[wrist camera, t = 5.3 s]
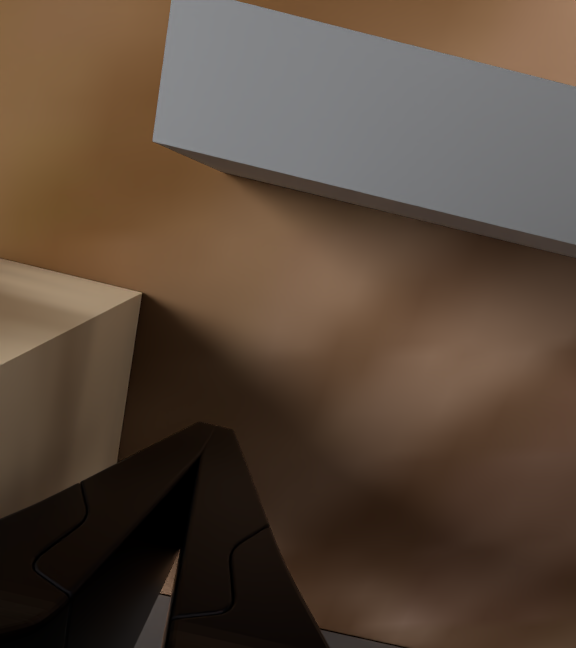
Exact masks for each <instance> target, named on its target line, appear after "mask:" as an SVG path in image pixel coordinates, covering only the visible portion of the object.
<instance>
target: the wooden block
mask: <svg viewBox="0 0 576 648" xmlns="http://www.w3.org/2000/svg"><path fill="white" fill-rule="evenodd" d="M141 297H142V293H141V292H137V291H133V290H129V289H125V288H121V287H116V286H112V285H108V284H104V283H100V282H96V281H92V280H88V279H84V278H79V277H75V276H71V275H67V274H63V273H59V272H55V271H51V270H46V269H42V268H38V267H34V266H30V265H26V264H22V263H18V262H14V261H9V260H5V259H1V258H0V519H1V518H3V517H5V516H8V515H10V514H12V513H15V512H17V511H19V510H22V509H24V508H26V507H29V506H31V505H33V504H35V503H37V502H40V501H42V500H44V499H46V498H48V497H50V496H52V495H54V494H56V493H58V492H61V491H62V490H64V489H66V488H68V487H70V486H72V485H74V484H76V483H80V482H81V481H83V480H84V479H86V478H88V477H90V476H92V475H94V474H96V473H98V472H100V471H102V470H104V469H106V468H108V467H110V466H112V465H114V464H116V463H117V458H118V451H119V445H120V438H121V431H122V425H123V418H124V411H125V404H126V398H127V391H128V384H129V378H130V371H131V364H132V357H133V351H134V344H135V337H136V331H137V324H138V317H139V310H140V304H141Z"/></svg>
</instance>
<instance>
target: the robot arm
mask: <svg viewBox="0 0 576 648" xmlns="http://www.w3.org/2000/svg"><path fill="white" fill-rule="evenodd" d="M269 527H270V526H269V523H268V520H267V518H266V515H265V512H264V510H263V507H262V504H261V502H260V499H259V496H258V494H257V491H256V488H255V486H254V483H253V481H252V478H251V475H250V473H249V470H248V467H247V465H246V462H245V459H244V457H243V454H242V451H241V449H240V446H239V444H238V441H237V438H236V436H235V433H234V431H233V430H232V429H230V428H226V427H221V426H215V425H213V424H209V423H204V422H197V423H195V424H193V425H191V426H189V427H187V428H185V429H183V430H181V431H179V432H177V433H175V434H173V435H171V436H169V437H167V438H165V439H163V440H161V441H159V442H157V443H155V444H153V445H151V446H150V447H148V448H146V449H144V450H142V451H140V452H138V453H136V454H134V455H132V456H130V457H128V458H126V459H124V460H122V461H120V462H118V463H116V464H114V465H112V466H110V467H108V468H106V469H104V470H102V471H100V472H98V473H96V474H94V475H92V476H90V477H88V478H86V479H84V480H83V481H81V482H80V483H76V484H74V485H72V486H70V487H68V488H66V489H64V490H62V491H61V492H58V493H56V494H54V495H52V496H50V497H48V498H46V499H44V500H42V501H40V502H37V503H35V504H33V505H31V506H29V507H26V508H24V509H22V510H19V511H17V512H15V513H12V514H10V515H8V516H5V517H3V518H1V519H0V648H134V647H135V645H136V642H137V640H138V638H139V636H140V634H141V632H142V630H143V628H144V625H145V623H146V621H147V619H148V617H149V615H150V613H151V610H152V608H153V606H154V604H155V602H156V600H157V598H158V595H159V593H160V591H161V589H162V587H163V585H164V583H165V580H166V578H167V576H168V574H169V572H170V570H171V568H172V565H173V563H174V561H175V559H176V557H177V555H178V553H179V551H180V553H179V558H178V563H177V568H176V574H175V579H174V584H173V589H172V594H171V599H170V604H169V609H168V614H167V619H166V624H165V629H164V634H163V639H162V645H161V648H330V646H329V645H328V643H327V641H326V639H325V637H324V636H323V634H322V632H321V630H320V628H319V626H318V625H317V623H316V621H315V619H314V617H313V616H312V614H311V612H310V610H309V608H308V606H307V605H306V603H305V601H304V599H303V597H302V596H301V594H300V592H299V590H298V588H297V586H296V584H295V582H294V580H293V578H292V577H291V575H290V573H289V571H288V569H287V567H286V565H285V562H284V560H283V558H282V555H281V553H280V551H279V548H278V546H277V544H276V541H275V538H274V536H273V533H272V530H271V528H269Z"/></svg>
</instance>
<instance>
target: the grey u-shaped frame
mask: <svg viewBox="0 0 576 648" xmlns="http://www.w3.org/2000/svg"><path fill="white" fill-rule="evenodd" d="M153 142H155V143H157V144H160V145H162V146H164V147H166V148H169V149H171V150H173V151H175V152H178V153H180V154H182V155H185V156H187V157H189V158H191V159H194V160H196V161H198V162H200V163H203V164H205V165H207V166H210V167H212V168H214V169H216V170H219V171H221V172H224V173H228V174H233V175H237V176H241V177H245V178H249V179H253V180H257V181H261V182H265V183H270V184H274V185H278V186H282V187H286V188H290V189H294V190H298V191H302V192H307V193H311V194H315V195H319V196H323V197H327V198H331V199H335V200H339V201H344V202H348V203H352V204H356V205H360V206H364V207H368V208H372V209H376V210H381V211H385V212H389V213H393V214H397V215H401V216H405V217H409V218H413V219H418V220H422V221H426V222H430V223H434V224H438V225H442V226H446V227H450V228H455V229H459V230H463V231H467V232H471V233H475V234H479V235H483V236H487V237H491V238H496V239H500V240H504V241H508V242H512V243H516V244H520V245H524V246H528V247H533V248H537V249H541V250H545V251H549V252H553V253H557V254H561V255H565V256H570V257H574V258H576V87H575V86H571V85H567V84H563V83H559V82H555V81H551V80H547V79H543V78H539V77H535V76H531V75H527V74H523V73H519V72H515V71H511V70H508V69H504V68H500V67H496V66H492V65H488V64H484V63H480V62H476V61H472V60H468V59H464V58H460V57H456V56H452V55H448V54H444V53H440V52H436V51H432V50H428V49H425V48H421V47H417V46H413V45H409V44H405V43H401V42H397V41H393V40H389V39H385V38H381V37H377V36H373V35H369V34H365V33H361V32H357V31H353V30H349V29H345V28H342V27H338V26H334V25H330V24H326V23H322V22H318V21H314V20H310V19H306V18H302V17H298V16H294V15H290V14H286V13H282V12H278V11H274V10H270V9H266V8H262V7H259V6H255V5H251V4H247V3H243V2H239V1H235V0H171V8H170V15H169V23H168V30H167V37H166V45H165V52H164V60H163V67H162V74H161V82H160V89H159V97H158V104H157V111H156V119H155V126H154V134H153ZM170 599H171V597H169V596H164V595H158V598H157V600H156V602H155V604H154V606H153V608H152V610H151V613H150V615H149V617H148V619H147V621H146V623H145V625H144V628H143V630H142V632H141V634H140V636H139V638H138V640H137V642H136V645H135V647H134V648H161V645H162V639H163V634H164V629H165V624H166V619H167V614H168V609H169V604H170ZM321 632H322V634H323V636H324V637H325V639H326V641H327V643H328V645H329V646H330V648H401V647H397V646H392V645H388V644H383V643H378V642H374V641H369V640H365V639H360V638H356V637H351V636H346V635H342V634H337V633H333V632H328V631H324V630H321Z"/></svg>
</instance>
